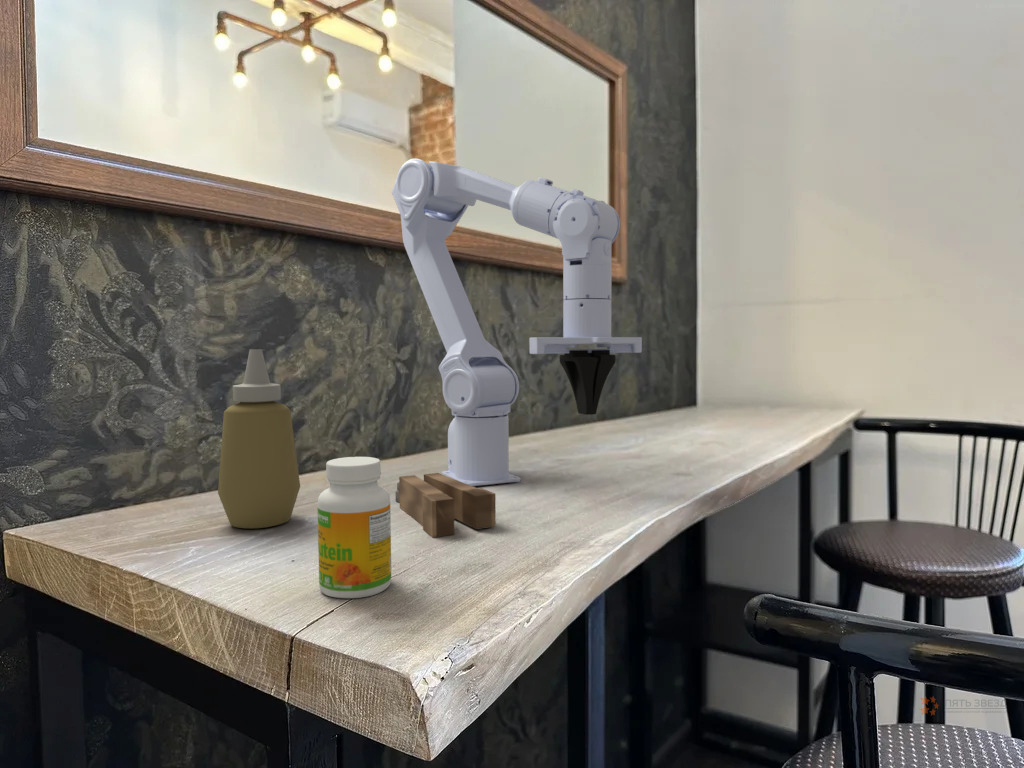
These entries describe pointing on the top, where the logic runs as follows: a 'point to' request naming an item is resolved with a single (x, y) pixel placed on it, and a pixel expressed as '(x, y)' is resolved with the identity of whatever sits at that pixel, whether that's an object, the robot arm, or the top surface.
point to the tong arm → (466, 500)
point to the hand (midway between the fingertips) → (587, 413)
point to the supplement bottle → (354, 530)
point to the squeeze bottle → (258, 452)
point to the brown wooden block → (426, 505)
